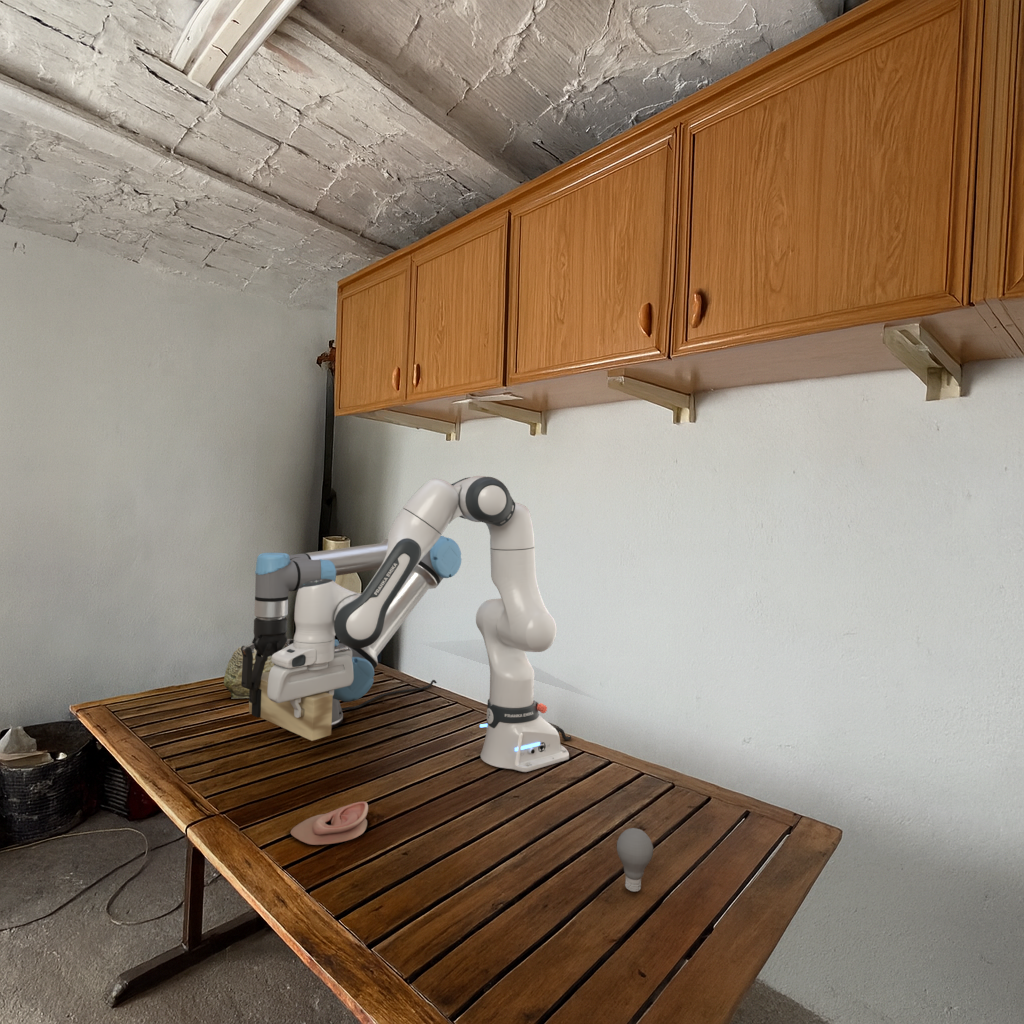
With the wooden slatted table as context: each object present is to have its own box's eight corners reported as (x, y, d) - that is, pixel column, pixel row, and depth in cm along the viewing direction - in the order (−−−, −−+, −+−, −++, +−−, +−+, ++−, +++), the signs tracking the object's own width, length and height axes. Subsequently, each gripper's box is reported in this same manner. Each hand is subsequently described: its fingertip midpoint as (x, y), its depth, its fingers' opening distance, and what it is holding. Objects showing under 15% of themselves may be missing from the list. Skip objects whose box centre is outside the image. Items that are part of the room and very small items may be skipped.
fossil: (219, 695, 195) (221, 647, 195) (279, 686, 207) (281, 640, 207) (229, 703, 188) (231, 653, 188) (290, 693, 201) (292, 646, 200)
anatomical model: (282, 818, 116) (314, 791, 127) (281, 840, 116) (313, 810, 127) (349, 829, 113) (375, 800, 125) (348, 851, 113) (374, 820, 125)
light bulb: (610, 878, 109) (613, 821, 108) (645, 878, 109) (647, 821, 109) (619, 901, 103) (622, 840, 103) (655, 900, 103) (658, 839, 103)
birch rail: (267, 707, 157) (269, 671, 157) (331, 735, 141) (332, 694, 141) (248, 712, 153) (250, 675, 153) (311, 741, 137) (313, 699, 137)
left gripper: (295, 610, 162) (291, 701, 162) (226, 619, 148) (222, 718, 148) (312, 615, 157) (308, 708, 158) (243, 624, 143) (239, 726, 144)
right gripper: (343, 642, 152) (341, 699, 152) (264, 656, 136) (262, 720, 136) (360, 647, 148) (358, 706, 148) (280, 662, 132) (278, 728, 132)
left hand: (267, 712), depth 153 cm, fingers closed on birch rail, 5 cm apart
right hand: (311, 713), depth 142 cm, fingers closed on birch rail, 5 cm apart
